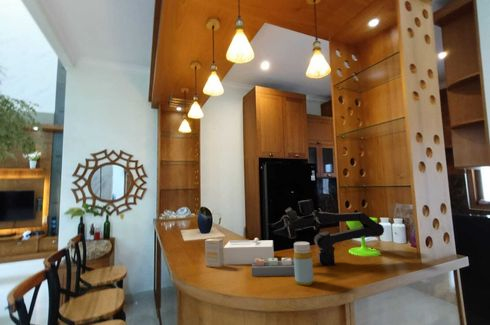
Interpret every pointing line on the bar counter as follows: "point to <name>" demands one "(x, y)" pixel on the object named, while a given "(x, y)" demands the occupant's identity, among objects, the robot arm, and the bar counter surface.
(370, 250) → the wineglass
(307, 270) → the bottle
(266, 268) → the keypad
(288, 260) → the key cream
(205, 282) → the bar counter surface
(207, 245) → the supplement box
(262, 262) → the key terracotta
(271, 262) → the key sage
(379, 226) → the robot arm
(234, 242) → the tissue box
